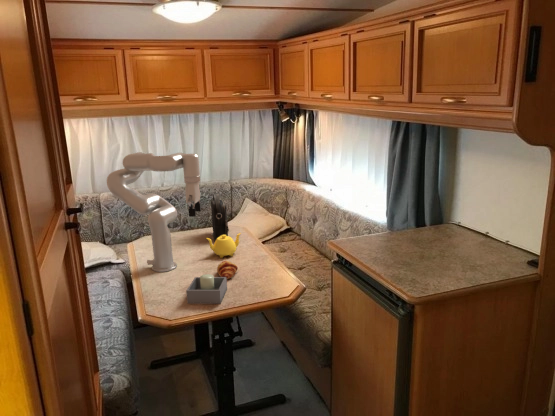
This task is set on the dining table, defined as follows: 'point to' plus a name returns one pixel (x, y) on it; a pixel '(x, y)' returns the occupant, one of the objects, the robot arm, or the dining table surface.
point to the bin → (207, 292)
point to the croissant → (227, 269)
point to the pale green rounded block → (207, 282)
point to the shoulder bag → (219, 217)
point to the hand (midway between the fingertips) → (195, 213)
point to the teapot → (224, 245)
